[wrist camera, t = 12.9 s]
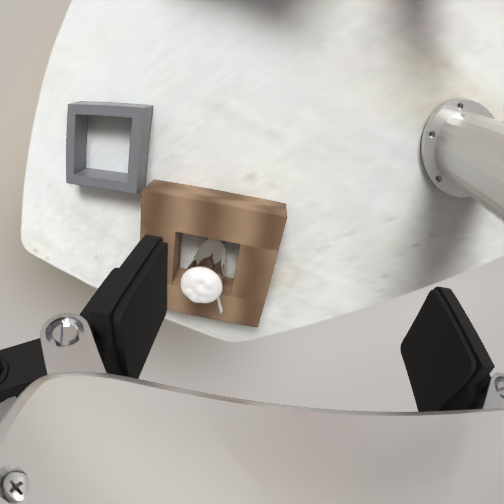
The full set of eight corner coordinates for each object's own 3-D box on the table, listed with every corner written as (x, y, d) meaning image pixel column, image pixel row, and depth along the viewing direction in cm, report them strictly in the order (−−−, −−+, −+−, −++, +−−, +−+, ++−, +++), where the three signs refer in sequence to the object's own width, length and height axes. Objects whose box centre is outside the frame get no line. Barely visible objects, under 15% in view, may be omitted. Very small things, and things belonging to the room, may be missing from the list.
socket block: (285, 203, 38) (287, 217, 35) (259, 308, 46) (257, 327, 42) (153, 179, 37) (142, 190, 34) (149, 286, 45) (140, 303, 42)
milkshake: (221, 273, 43) (209, 324, 35) (189, 250, 42) (168, 297, 33) (243, 251, 42) (235, 300, 33) (209, 226, 40) (191, 270, 31)
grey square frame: (153, 105, 33) (143, 107, 30) (145, 185, 38) (136, 193, 35) (81, 101, 33) (68, 104, 30) (78, 175, 37) (66, 183, 35)
